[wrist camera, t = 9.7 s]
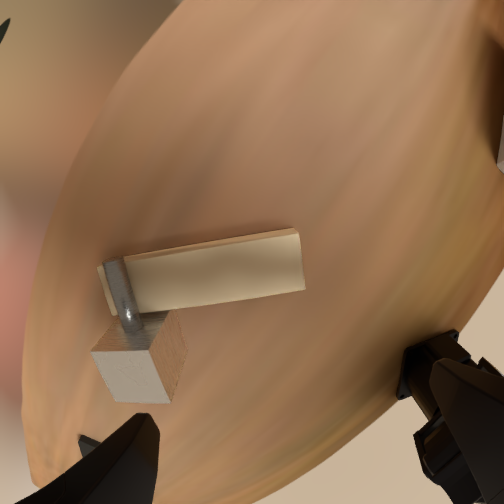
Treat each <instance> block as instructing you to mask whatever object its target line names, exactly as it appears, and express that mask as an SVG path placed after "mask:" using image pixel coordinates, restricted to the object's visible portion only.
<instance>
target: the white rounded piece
mask: <svg viewBox="0 0 504 504" xmlns="http://www.w3.org/2000/svg"><path fill="white" fill-rule="evenodd" d="M497 167H498V168H499V169H500V170H501V172H502V173H503V174H504V117H503V127H502V135H501V142H500V148H499V154H498V159H497Z"/></svg>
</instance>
